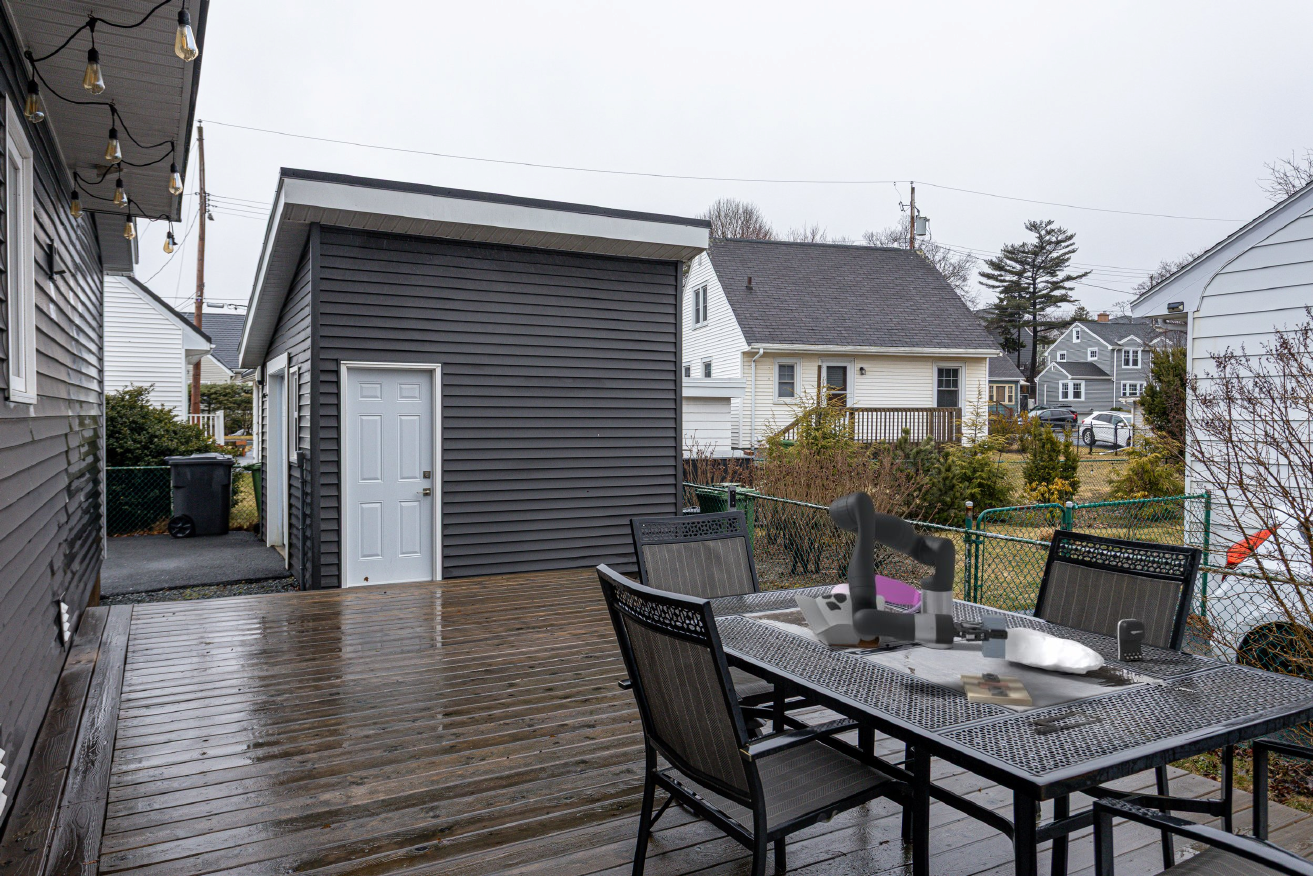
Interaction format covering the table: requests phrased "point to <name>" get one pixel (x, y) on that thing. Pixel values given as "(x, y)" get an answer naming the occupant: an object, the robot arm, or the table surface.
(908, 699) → the table surface
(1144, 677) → the pliers
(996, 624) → the link block
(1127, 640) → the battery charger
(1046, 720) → the hacksaw
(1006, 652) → the crumpled cloth
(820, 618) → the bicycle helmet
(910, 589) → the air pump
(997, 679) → the tan flat wooden board
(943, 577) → the robot arm
